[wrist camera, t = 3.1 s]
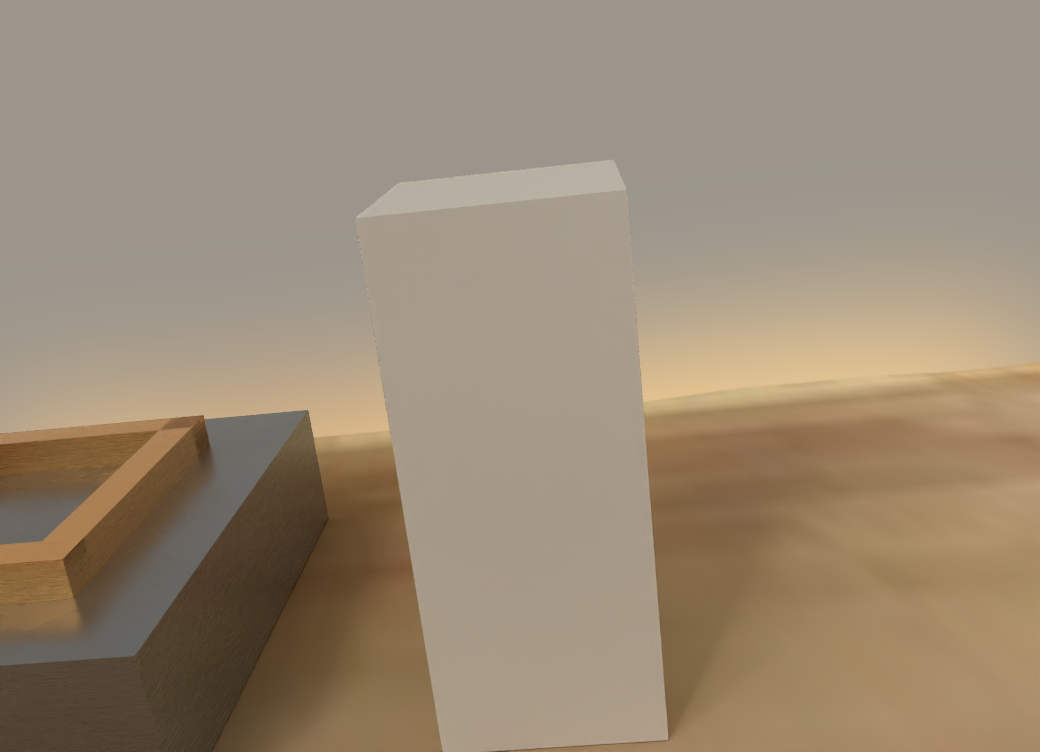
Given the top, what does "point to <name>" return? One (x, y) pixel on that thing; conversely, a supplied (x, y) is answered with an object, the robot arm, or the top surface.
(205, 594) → the jig plate
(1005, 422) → the top surface
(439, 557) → the column
